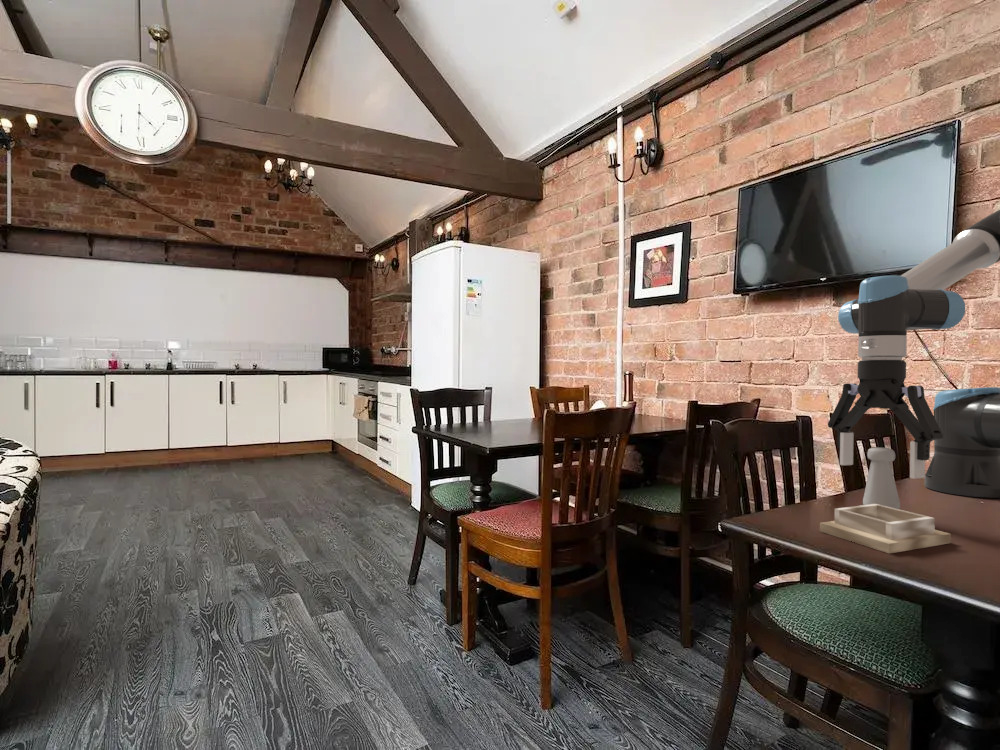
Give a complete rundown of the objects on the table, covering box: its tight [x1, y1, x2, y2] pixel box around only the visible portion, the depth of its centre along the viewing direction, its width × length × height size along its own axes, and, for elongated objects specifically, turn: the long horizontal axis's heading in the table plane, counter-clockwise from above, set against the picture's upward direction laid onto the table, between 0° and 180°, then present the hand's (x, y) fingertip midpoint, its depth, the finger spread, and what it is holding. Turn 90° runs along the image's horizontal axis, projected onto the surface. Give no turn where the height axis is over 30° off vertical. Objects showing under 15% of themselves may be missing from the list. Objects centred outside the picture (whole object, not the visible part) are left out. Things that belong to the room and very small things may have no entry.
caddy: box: [819, 504, 952, 554], centre depth 91 cm, size 14×12×4 cm
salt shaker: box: [862, 446, 901, 510], centre depth 103 cm, size 6×6×13 cm
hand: (879, 471), depth 103 cm, fingers open, 13 cm apart
